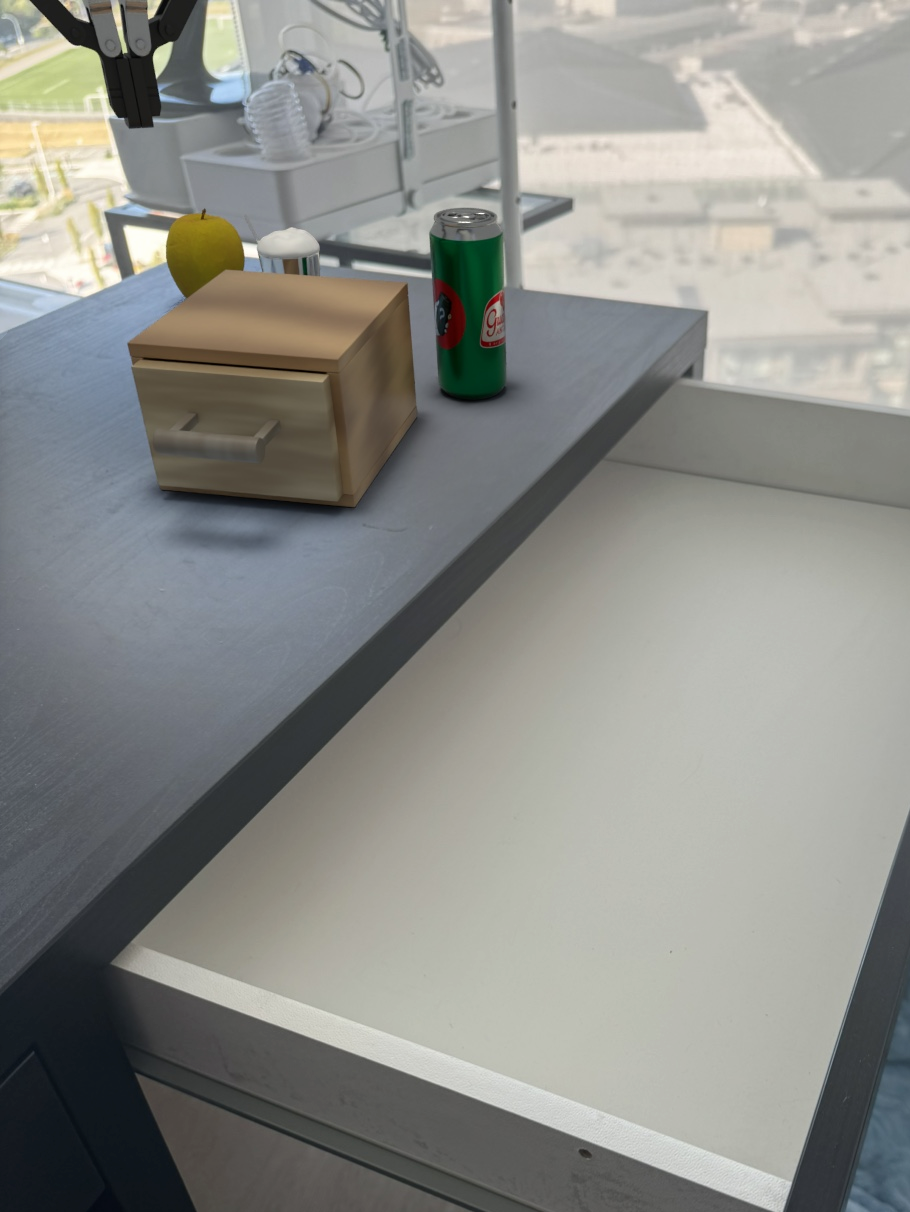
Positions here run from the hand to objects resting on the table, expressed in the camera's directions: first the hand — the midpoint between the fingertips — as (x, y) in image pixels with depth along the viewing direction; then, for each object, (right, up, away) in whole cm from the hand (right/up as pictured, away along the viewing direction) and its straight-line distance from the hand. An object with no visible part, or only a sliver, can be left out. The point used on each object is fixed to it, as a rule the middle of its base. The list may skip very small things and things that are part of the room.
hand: (139, 125), depth 71 cm
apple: (-5, +1, +29) cm, 29 cm away
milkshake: (+5, -7, +20) cm, 22 cm away
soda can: (+19, -11, +15) cm, 27 cm away
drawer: (+8, -20, +3) cm, 21 cm away
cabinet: (+8, -18, +6) cm, 21 cm away
